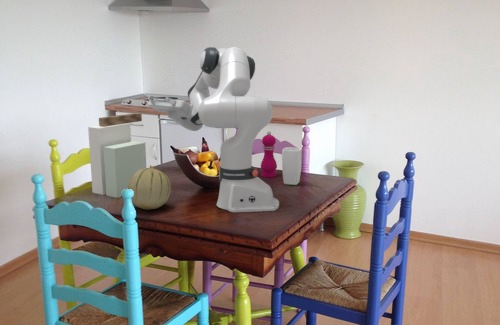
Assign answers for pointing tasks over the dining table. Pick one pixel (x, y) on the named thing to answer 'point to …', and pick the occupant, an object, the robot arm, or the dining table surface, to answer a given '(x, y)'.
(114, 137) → the tall stand
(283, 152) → the cup
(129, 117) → the walnut bar
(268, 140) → the pepper mill
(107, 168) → the pale green block
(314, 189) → the dining table surface
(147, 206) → the cantaloupe
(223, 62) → the robot arm
